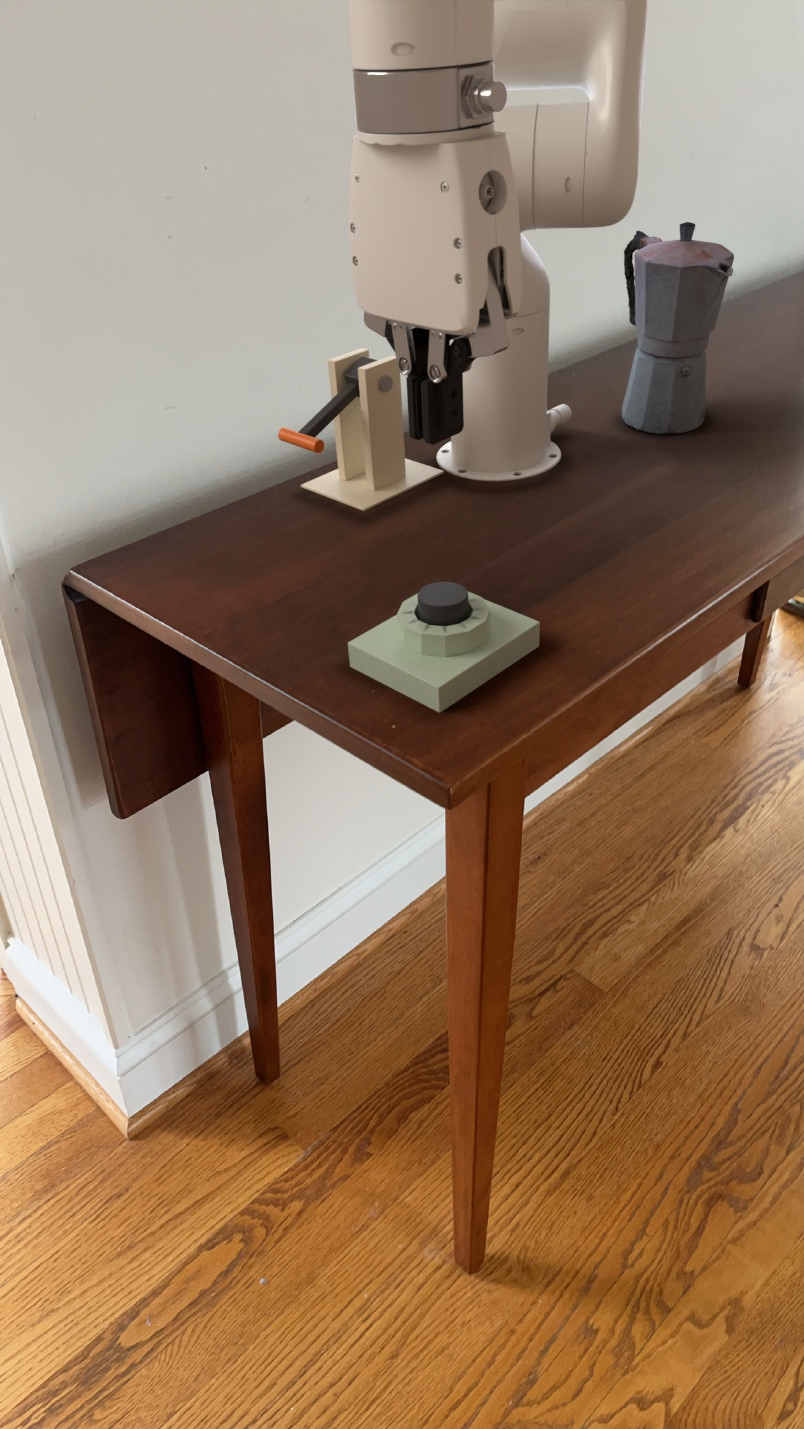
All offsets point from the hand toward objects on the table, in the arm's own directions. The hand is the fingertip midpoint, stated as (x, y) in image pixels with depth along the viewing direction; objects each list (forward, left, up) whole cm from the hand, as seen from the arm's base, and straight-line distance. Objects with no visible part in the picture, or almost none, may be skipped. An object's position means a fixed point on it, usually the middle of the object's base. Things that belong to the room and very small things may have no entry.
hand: (436, 434), depth 66 cm
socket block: (0, 0, -17) cm, 17 cm away
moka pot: (-50, -14, -17) cm, 55 cm away
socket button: (0, 0, -13) cm, 13 cm away
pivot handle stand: (-18, -26, -17) cm, 36 cm away
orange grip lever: (-15, -26, -9) cm, 31 cm away
